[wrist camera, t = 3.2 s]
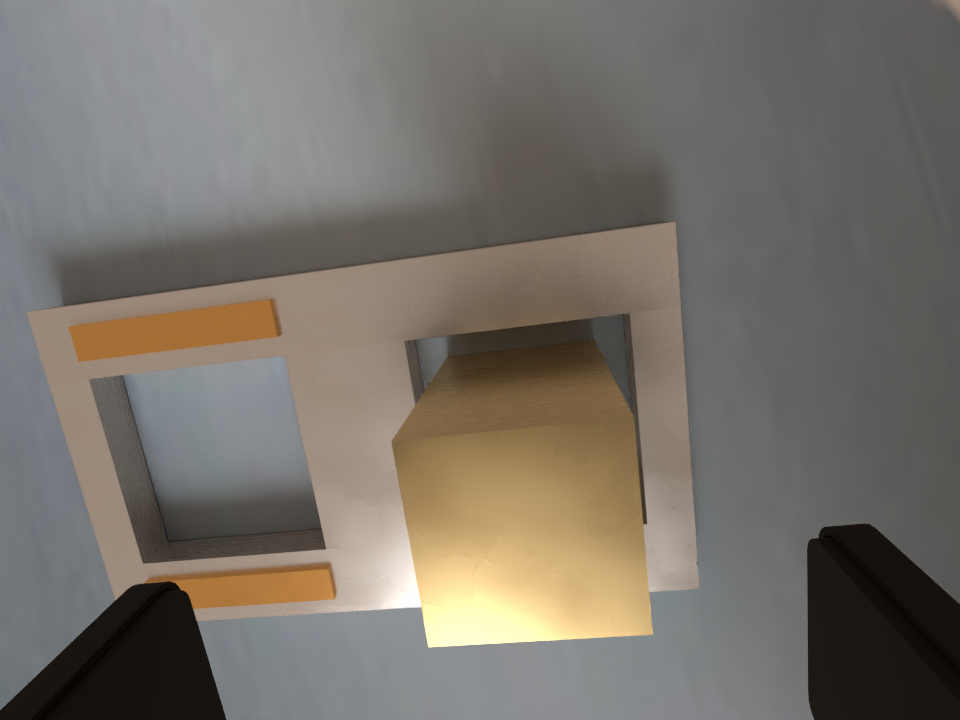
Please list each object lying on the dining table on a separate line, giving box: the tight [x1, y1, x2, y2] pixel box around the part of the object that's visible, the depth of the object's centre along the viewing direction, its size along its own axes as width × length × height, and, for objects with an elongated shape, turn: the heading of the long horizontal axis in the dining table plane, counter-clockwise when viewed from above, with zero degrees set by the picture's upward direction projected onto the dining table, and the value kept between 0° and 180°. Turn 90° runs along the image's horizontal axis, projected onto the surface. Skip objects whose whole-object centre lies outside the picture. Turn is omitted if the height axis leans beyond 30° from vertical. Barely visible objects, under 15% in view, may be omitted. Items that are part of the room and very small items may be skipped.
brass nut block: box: [391, 340, 653, 647], centre depth 16 cm, size 5×5×8 cm
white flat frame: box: [27, 222, 699, 621], centre depth 20 cm, size 21×12×2 cm, turn 98°
